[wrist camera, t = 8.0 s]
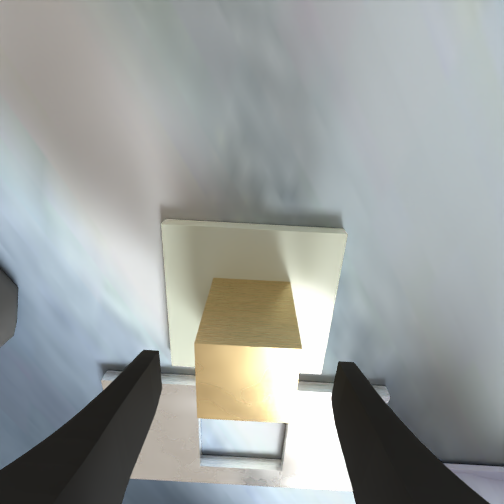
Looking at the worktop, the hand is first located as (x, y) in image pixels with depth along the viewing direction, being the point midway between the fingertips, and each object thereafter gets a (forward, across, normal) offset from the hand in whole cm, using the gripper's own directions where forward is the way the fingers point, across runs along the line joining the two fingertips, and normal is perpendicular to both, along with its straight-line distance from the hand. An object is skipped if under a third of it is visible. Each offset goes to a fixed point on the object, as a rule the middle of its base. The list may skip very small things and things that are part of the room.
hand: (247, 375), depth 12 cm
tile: (+6, 0, 0) cm, 6 cm away
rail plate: (+6, 0, +11) cm, 12 cm away
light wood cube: (+5, 0, 0) cm, 5 cm away
